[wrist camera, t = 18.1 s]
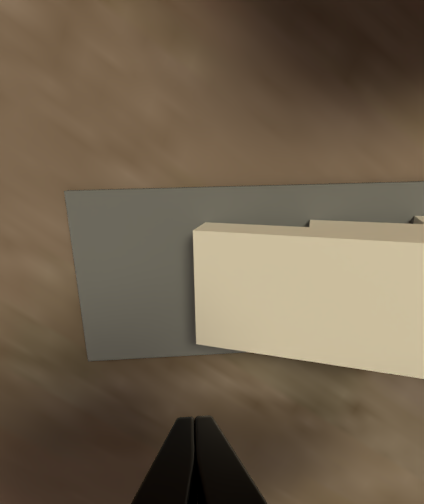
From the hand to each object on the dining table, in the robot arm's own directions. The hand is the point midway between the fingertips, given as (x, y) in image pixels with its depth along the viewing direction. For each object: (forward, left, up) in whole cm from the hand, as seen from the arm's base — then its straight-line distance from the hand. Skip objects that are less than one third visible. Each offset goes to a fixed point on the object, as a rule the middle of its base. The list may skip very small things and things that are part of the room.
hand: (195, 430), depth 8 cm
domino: (+1, 0, -7) cm, 7 cm away
